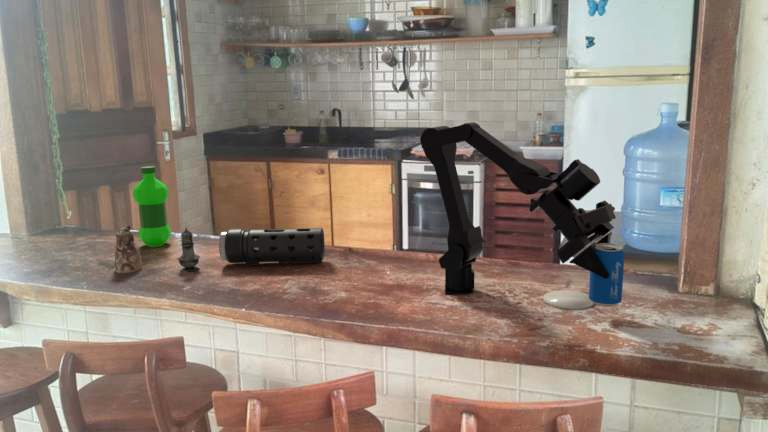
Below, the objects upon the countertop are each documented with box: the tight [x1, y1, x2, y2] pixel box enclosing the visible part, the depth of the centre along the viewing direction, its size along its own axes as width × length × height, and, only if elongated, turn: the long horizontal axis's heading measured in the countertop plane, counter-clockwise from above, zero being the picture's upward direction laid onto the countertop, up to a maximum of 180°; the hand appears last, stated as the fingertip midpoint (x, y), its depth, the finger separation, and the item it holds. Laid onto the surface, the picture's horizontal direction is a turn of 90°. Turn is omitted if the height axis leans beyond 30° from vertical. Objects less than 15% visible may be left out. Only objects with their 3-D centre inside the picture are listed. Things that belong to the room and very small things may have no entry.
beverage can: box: [588, 243, 625, 308], centre depth 136 cm, size 6×6×12 cm
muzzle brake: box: [218, 227, 326, 266], centre depth 184 cm, size 10×28×10 cm, turn 89°
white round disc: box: [543, 290, 595, 310], centre depth 148 cm, size 11×11×1 cm
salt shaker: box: [177, 227, 201, 274], centre depth 180 cm, size 6×6×12 cm
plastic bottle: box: [132, 165, 172, 248], centre depth 208 cm, size 10×10×25 cm
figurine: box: [114, 225, 143, 274], centre depth 183 cm, size 7×7×12 cm
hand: (613, 273), depth 135 cm, fingers closed on beverage can, 6 cm apart
